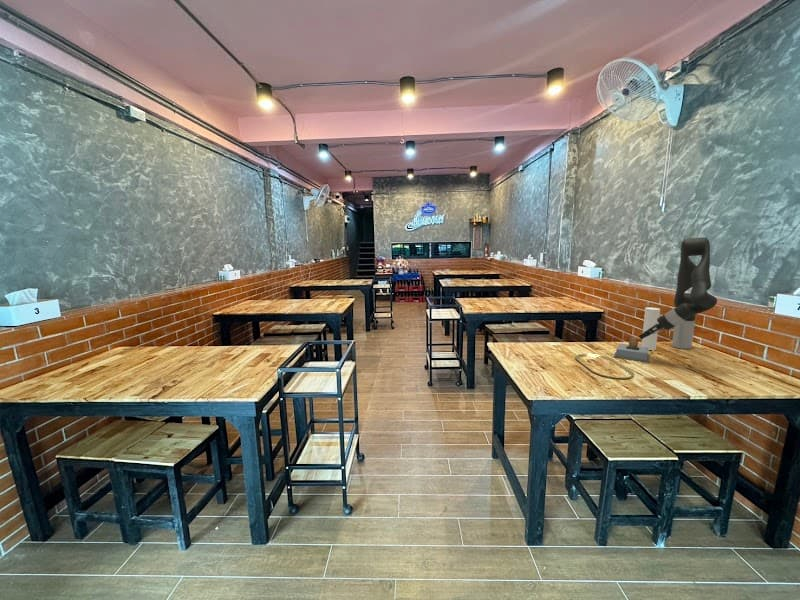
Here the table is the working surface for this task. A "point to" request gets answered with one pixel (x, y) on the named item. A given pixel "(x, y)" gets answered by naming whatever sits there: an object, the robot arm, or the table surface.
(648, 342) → the tall white block
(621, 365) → the rubber band
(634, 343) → the walnut peg
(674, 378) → the table surface
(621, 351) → the socket block
